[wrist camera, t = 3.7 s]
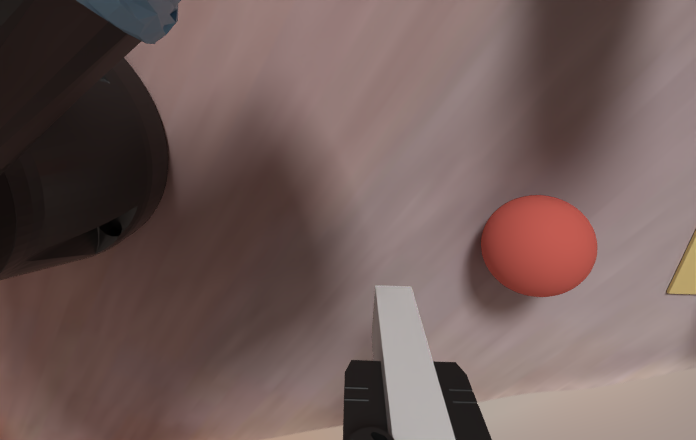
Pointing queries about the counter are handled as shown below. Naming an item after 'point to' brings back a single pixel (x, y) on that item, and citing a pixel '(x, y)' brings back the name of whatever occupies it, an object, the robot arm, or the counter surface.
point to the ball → (539, 246)
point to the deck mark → (685, 272)
